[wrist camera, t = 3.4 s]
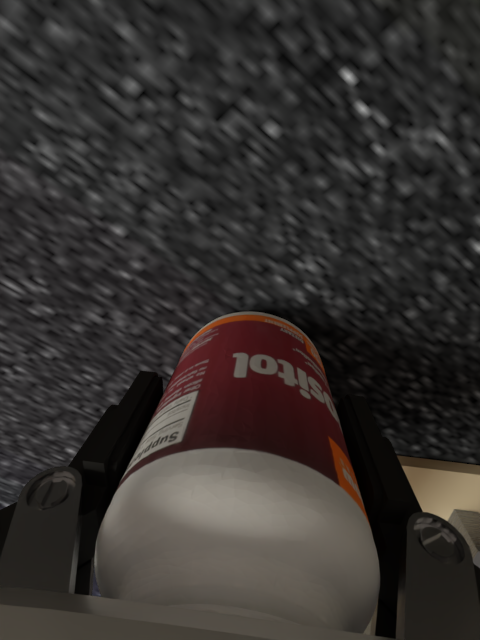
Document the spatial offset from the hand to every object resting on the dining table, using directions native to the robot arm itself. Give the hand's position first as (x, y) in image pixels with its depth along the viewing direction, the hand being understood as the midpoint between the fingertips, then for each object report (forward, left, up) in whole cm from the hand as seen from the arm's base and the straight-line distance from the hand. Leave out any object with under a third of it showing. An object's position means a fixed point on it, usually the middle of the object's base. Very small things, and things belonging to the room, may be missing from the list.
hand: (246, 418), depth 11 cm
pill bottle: (0, 0, -3) cm, 3 cm away
